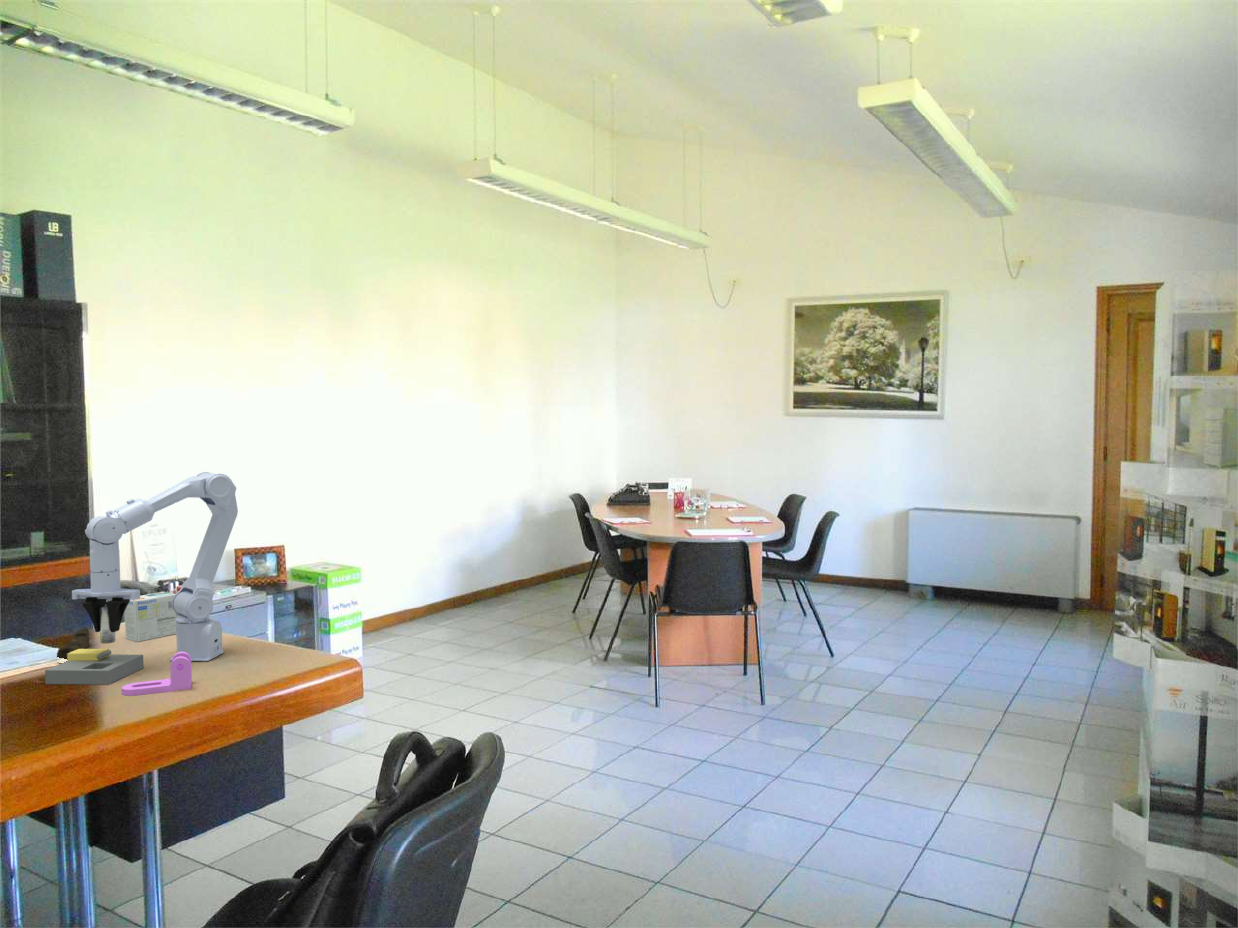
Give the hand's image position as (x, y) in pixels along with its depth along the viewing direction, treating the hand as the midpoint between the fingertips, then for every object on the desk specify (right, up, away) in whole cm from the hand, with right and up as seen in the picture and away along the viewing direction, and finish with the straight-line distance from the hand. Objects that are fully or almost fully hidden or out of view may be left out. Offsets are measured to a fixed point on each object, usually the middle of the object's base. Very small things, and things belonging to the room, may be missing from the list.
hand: (107, 631), depth 202 cm
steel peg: (0, -2, 0) cm, 2 cm away
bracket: (+17, -10, -12) cm, 23 cm away
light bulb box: (-8, -8, +35) cm, 36 cm away
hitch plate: (-2, -10, -1) cm, 10 cm away
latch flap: (-5, -6, +2) cm, 8 cm away
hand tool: (-18, -9, +18) cm, 27 cm away
